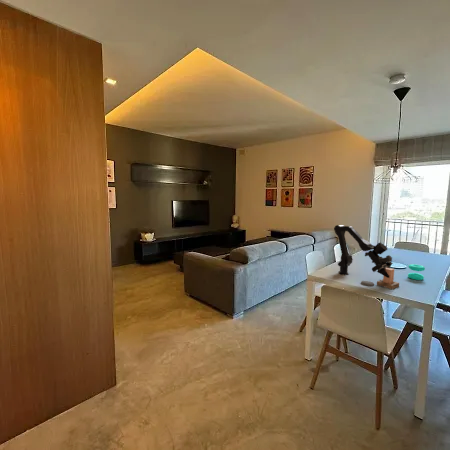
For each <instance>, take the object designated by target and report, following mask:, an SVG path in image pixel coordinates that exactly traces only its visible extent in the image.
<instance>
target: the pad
mask: <svg viewBox="0 0 450 450" xmlns="http://www.w3.org/2000/svg"><path fill="white" fill-rule="evenodd" d="M360 284H361V285H363V286H367V287H373V286H375V283H374V282H373V281H370V280H361V281H360Z"/></svg>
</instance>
